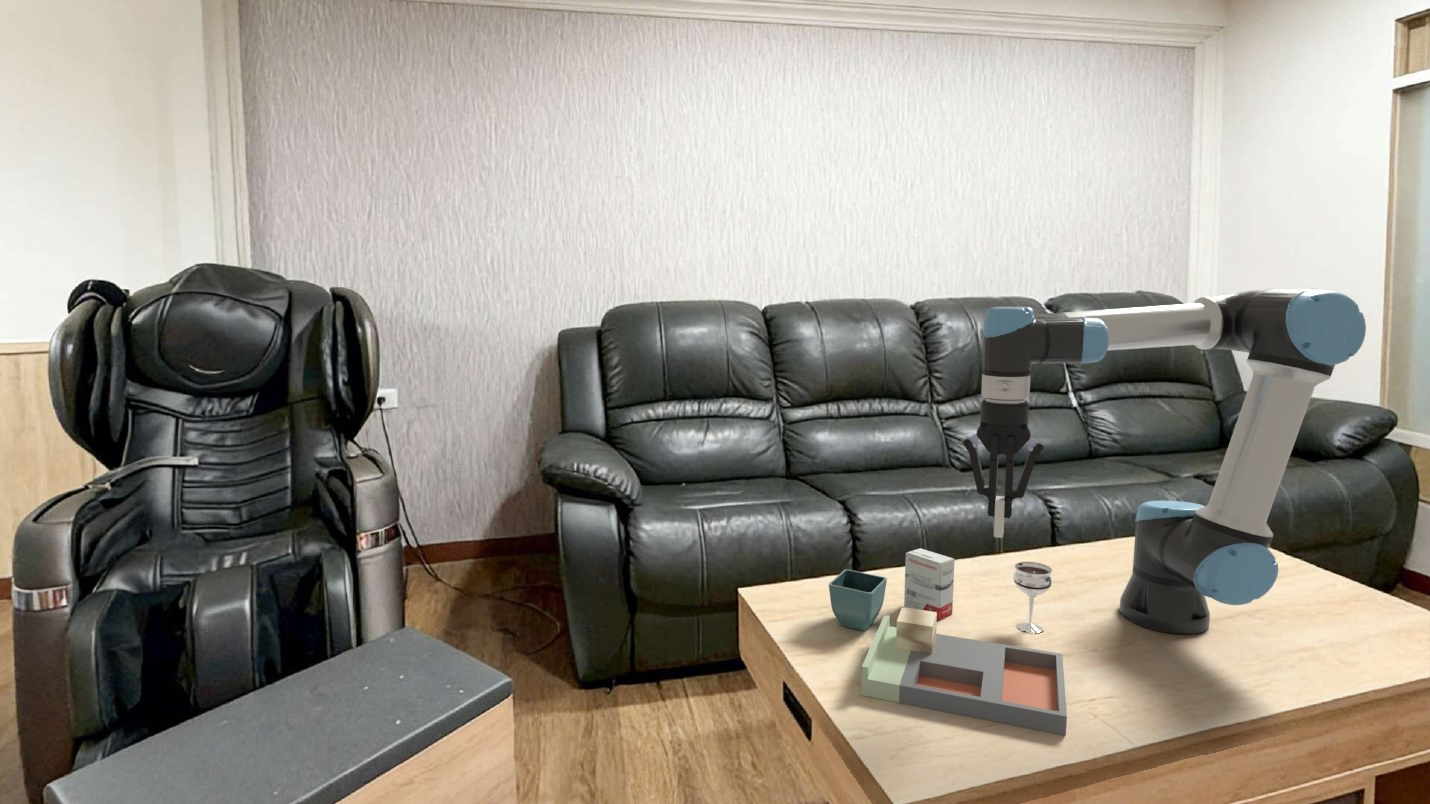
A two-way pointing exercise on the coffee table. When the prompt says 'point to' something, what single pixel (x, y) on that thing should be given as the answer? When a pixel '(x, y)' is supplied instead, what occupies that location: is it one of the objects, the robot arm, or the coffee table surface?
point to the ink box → (929, 582)
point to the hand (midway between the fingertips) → (998, 534)
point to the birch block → (916, 630)
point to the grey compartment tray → (970, 679)
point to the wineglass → (1032, 588)
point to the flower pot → (857, 598)
